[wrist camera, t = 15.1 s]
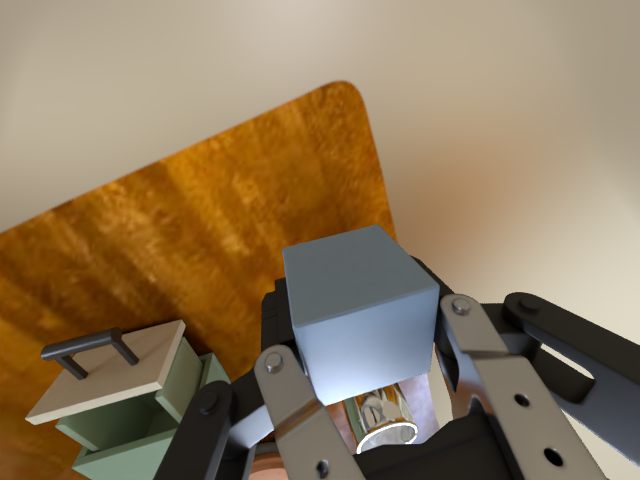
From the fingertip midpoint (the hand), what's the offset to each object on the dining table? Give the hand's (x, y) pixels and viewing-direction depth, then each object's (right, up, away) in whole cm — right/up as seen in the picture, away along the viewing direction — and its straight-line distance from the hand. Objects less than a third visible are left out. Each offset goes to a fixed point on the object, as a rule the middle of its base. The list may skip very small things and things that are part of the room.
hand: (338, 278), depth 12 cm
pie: (-13, -44, +39) cm, 60 cm away
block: (0, 0, 0) cm, 0 cm away
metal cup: (+3, -11, +25) cm, 28 cm away
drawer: (-22, -14, +19) cm, 33 cm away
